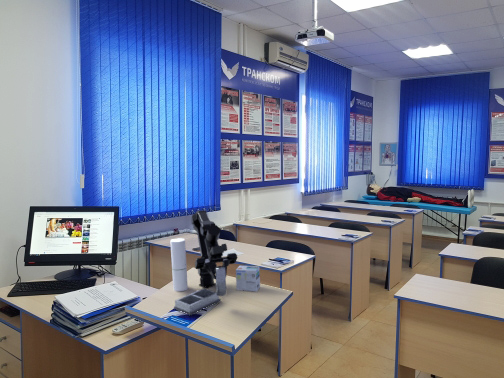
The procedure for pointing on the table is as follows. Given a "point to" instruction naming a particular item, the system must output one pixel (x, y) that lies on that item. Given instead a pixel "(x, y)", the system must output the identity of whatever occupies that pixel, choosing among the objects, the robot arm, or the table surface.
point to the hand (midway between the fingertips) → (220, 278)
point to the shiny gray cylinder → (220, 280)
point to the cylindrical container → (179, 264)
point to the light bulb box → (248, 278)
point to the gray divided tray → (196, 301)
